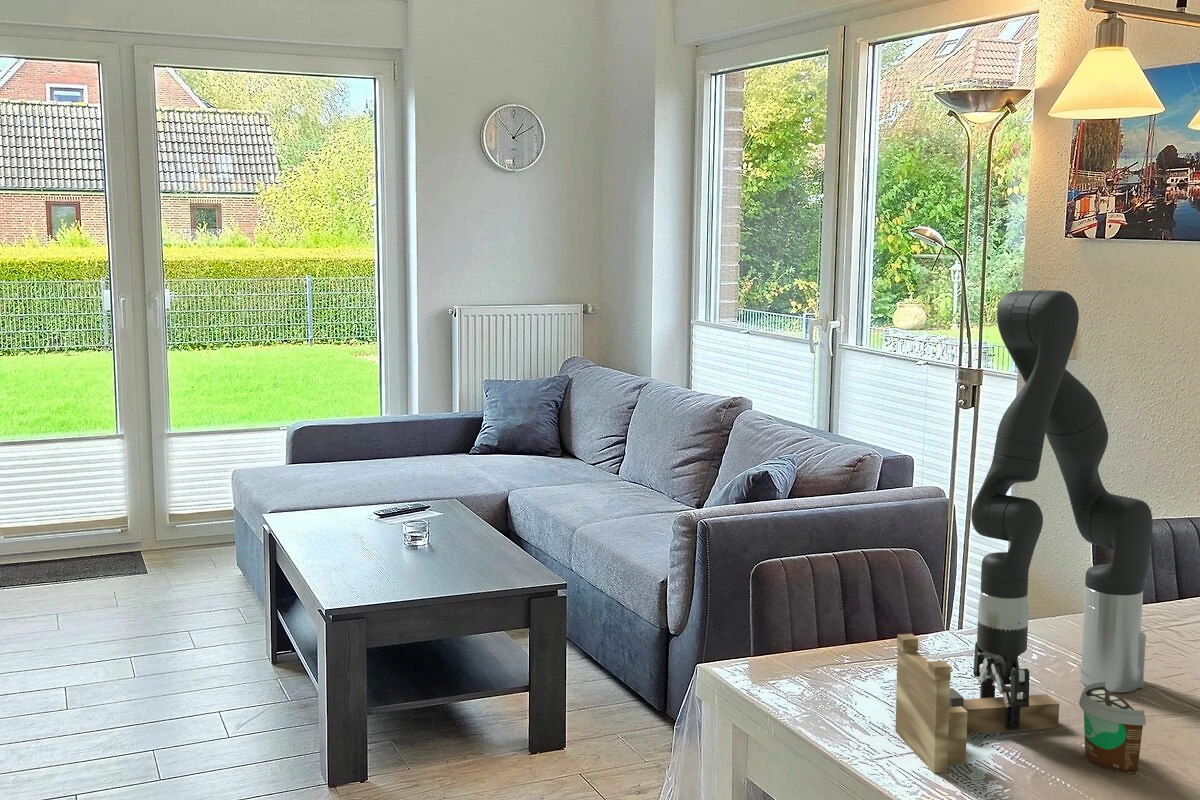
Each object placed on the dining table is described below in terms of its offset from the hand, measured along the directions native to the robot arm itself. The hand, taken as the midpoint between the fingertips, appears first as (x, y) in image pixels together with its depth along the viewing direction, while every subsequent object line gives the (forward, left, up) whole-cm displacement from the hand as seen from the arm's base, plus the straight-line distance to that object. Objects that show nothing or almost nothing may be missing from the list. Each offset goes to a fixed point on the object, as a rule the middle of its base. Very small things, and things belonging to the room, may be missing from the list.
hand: (999, 718), depth 192 cm
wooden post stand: (+14, +7, -1) cm, 16 cm away
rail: (0, 0, -1) cm, 1 cm away
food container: (-9, +14, -2) cm, 17 cm away
